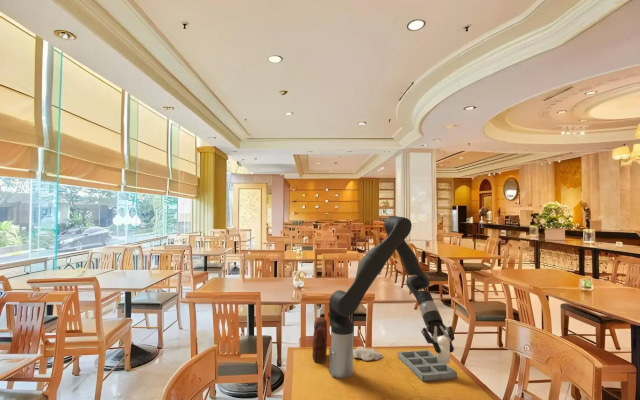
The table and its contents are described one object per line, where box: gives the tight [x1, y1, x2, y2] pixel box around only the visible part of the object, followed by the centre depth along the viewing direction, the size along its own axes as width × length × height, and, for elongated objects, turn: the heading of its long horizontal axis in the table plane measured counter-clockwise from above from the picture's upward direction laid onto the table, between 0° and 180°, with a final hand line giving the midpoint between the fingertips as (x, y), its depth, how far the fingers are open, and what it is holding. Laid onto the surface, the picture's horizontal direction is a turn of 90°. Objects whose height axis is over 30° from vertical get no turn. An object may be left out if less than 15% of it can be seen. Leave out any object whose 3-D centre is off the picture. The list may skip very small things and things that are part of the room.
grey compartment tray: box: [397, 349, 458, 383], centre depth 145 cm, size 15×22×3 cm, turn 12°
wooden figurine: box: [312, 316, 328, 364], centre depth 153 cm, size 12×6×18 cm, turn 3°
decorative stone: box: [353, 346, 385, 362], centre depth 155 cm, size 11×4×15 cm
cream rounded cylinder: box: [436, 336, 451, 364], centre depth 139 cm, size 5×5×10 cm
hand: (445, 352), depth 137 cm, fingers closed on cream rounded cylinder, 5 cm apart
